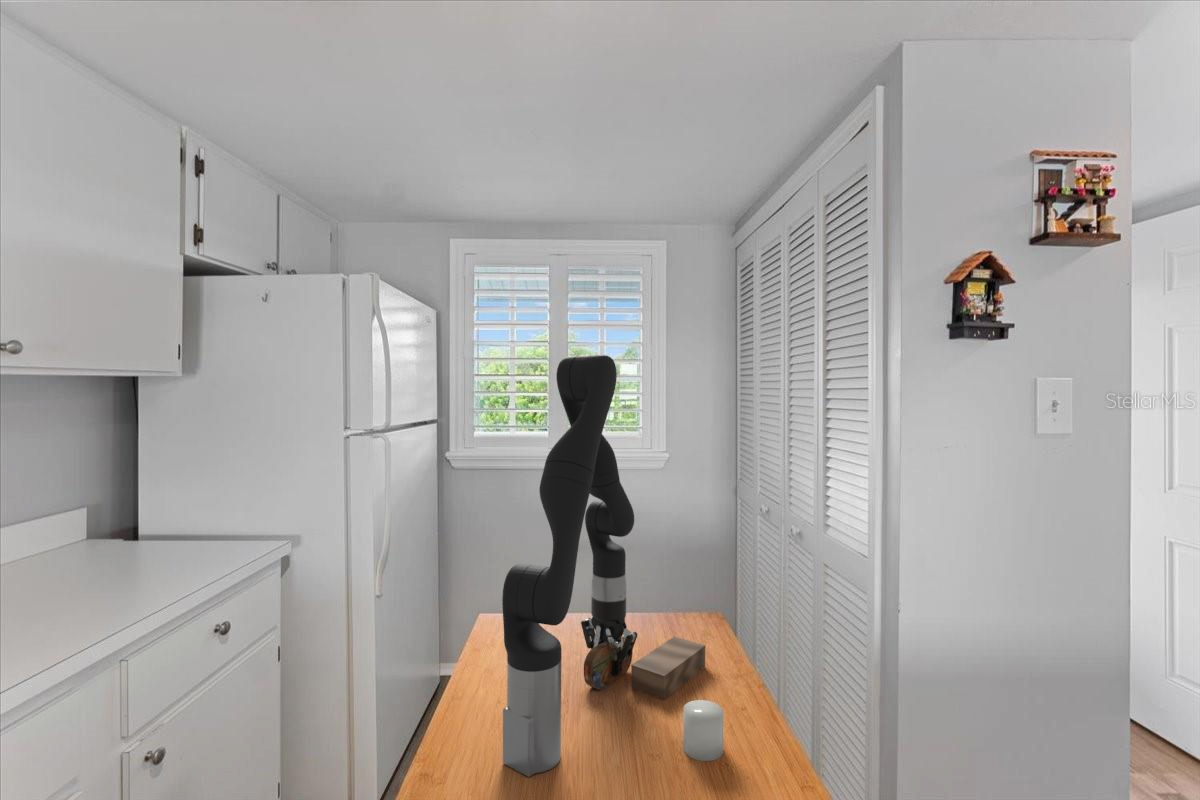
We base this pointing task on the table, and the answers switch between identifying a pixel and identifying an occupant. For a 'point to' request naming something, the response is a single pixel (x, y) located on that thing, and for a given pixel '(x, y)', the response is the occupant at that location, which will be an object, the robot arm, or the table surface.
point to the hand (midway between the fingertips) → (608, 671)
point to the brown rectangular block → (667, 667)
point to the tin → (602, 666)
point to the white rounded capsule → (703, 730)
